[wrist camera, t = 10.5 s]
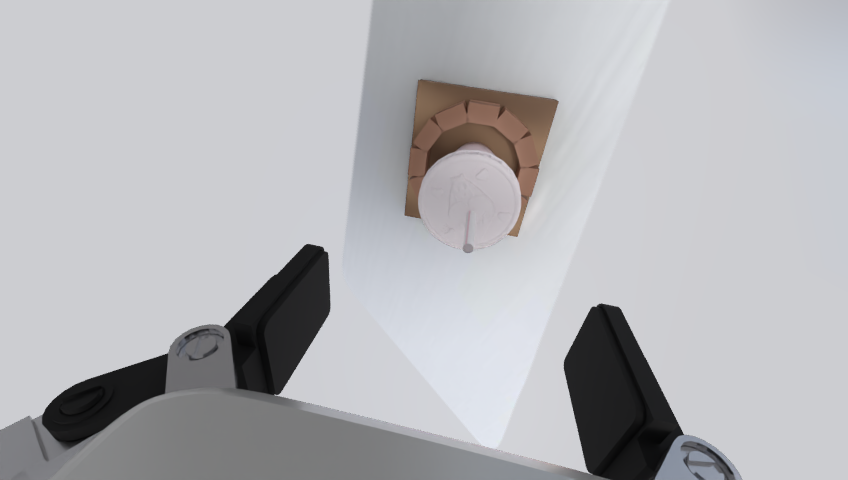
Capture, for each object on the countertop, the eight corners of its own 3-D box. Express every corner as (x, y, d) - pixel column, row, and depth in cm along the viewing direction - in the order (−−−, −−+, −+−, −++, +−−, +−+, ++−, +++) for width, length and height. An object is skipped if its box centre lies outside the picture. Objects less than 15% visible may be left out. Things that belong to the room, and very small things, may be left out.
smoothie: (453, 207, 31) (431, 302, 18) (425, 143, 28) (379, 204, 16) (521, 183, 28) (547, 273, 16) (497, 111, 26) (506, 154, 14)
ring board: (421, 79, 27) (413, 81, 24) (555, 99, 26) (563, 104, 23) (407, 210, 33) (399, 224, 30) (516, 231, 32) (518, 247, 29)
